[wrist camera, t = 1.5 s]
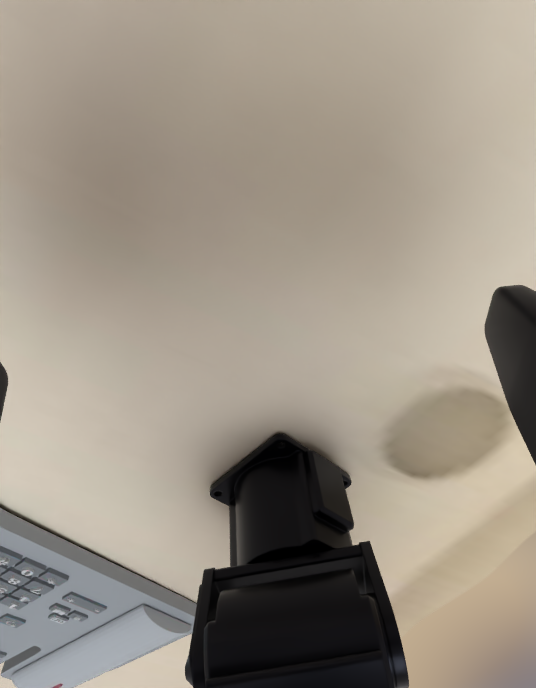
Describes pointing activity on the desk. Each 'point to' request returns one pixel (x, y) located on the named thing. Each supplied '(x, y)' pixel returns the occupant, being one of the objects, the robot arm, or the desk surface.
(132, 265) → the desk surface
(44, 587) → the office telephone
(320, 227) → the desk surface
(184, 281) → the desk surface
